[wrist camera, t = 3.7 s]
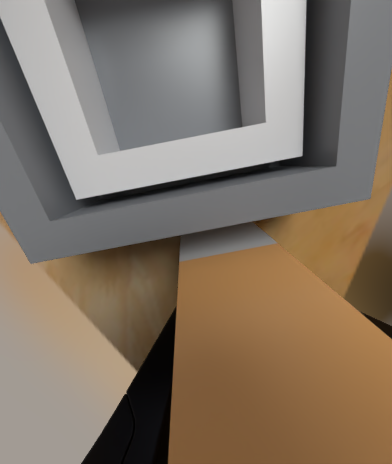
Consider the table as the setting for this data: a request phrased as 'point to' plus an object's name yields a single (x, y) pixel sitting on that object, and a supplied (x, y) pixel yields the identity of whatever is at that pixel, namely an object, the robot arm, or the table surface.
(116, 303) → the table surface
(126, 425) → the robot arm
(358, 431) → the block
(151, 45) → the inlet box
